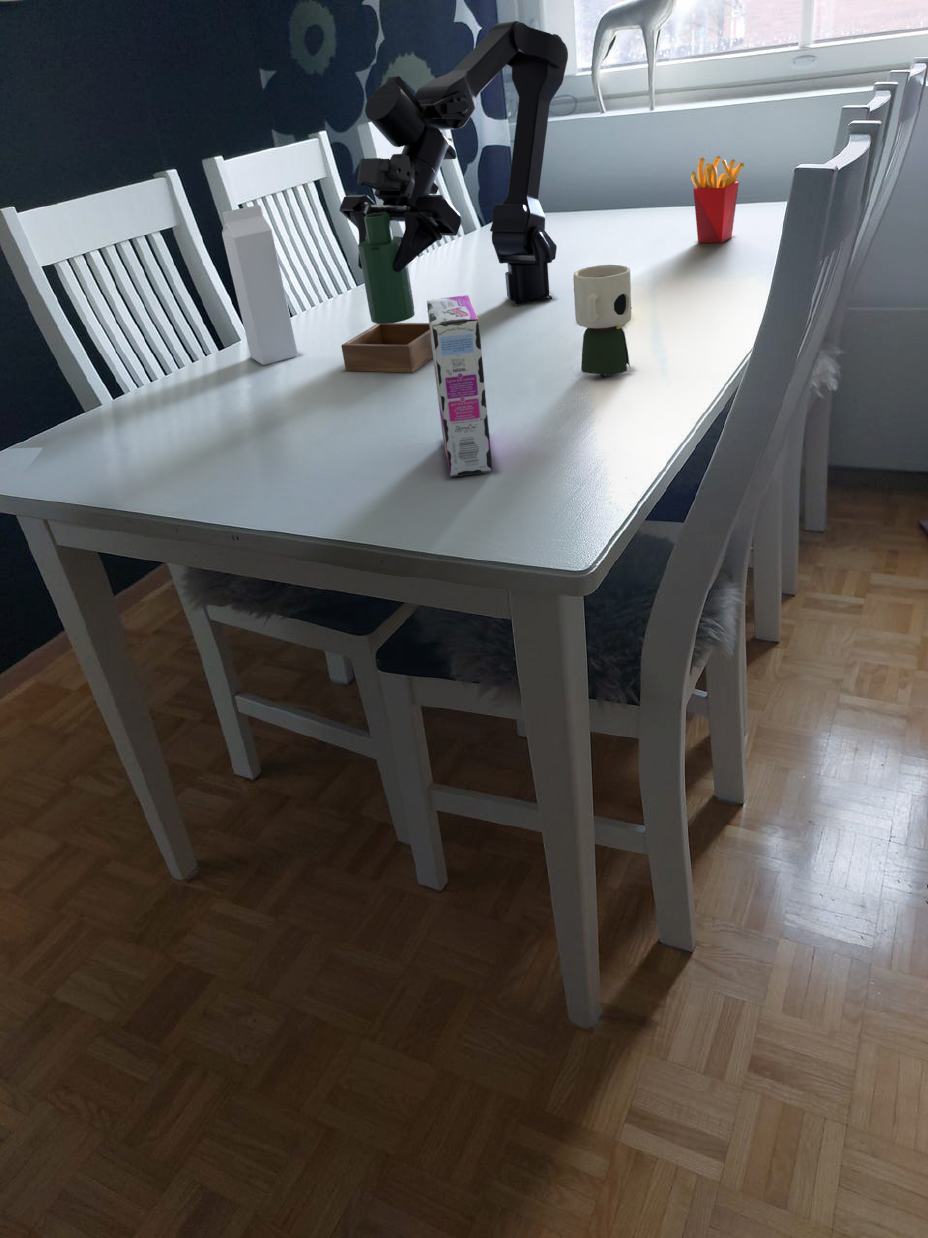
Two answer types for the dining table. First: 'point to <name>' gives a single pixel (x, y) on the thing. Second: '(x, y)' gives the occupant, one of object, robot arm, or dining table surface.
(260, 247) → the milk
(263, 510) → the dining table surface
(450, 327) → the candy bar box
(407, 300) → the bottle
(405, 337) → the crate
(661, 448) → the dining table surface
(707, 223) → the french fries
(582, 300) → the character mug
